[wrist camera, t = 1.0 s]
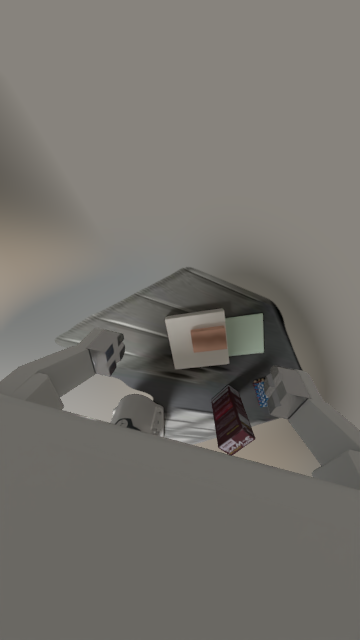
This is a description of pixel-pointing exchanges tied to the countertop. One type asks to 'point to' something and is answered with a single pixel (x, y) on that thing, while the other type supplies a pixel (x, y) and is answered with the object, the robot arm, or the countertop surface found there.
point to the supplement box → (231, 421)
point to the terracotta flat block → (209, 339)
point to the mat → (245, 334)
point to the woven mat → (260, 392)
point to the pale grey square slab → (182, 340)
